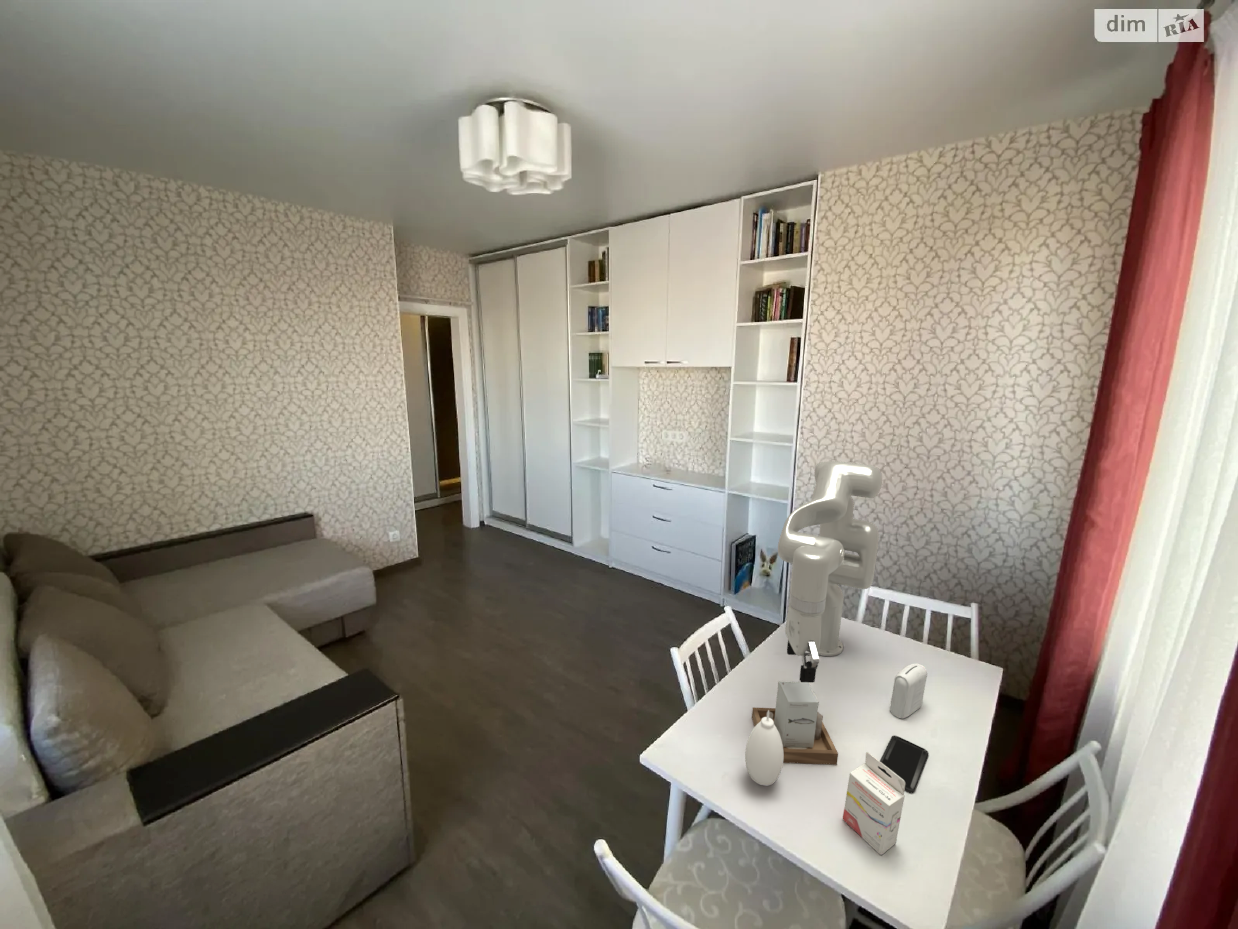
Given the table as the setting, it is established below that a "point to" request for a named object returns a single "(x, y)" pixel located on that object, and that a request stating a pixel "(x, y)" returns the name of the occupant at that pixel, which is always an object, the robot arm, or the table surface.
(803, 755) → the caddy
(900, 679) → the white rounded block
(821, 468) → the robot arm
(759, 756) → the air blower bulb
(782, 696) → the supplement box
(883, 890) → the table surface
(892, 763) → the phone
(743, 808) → the table surface
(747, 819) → the table surface
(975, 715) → the table surface
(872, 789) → the ink cartridge box
